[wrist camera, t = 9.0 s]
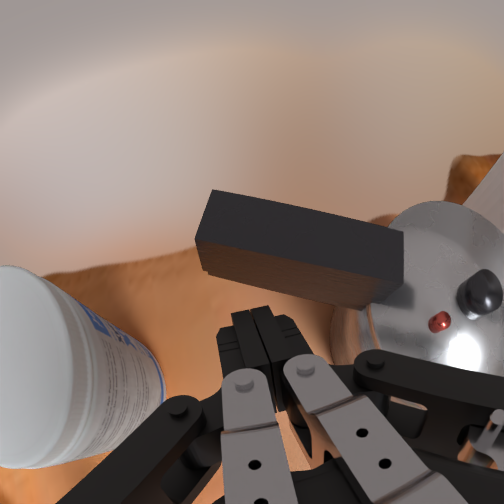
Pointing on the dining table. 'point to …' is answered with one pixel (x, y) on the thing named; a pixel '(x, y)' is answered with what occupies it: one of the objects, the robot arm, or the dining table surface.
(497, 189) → the bottle
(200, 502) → the dining table surface
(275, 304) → the dining table surface
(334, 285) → the lid
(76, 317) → the supplement tub
